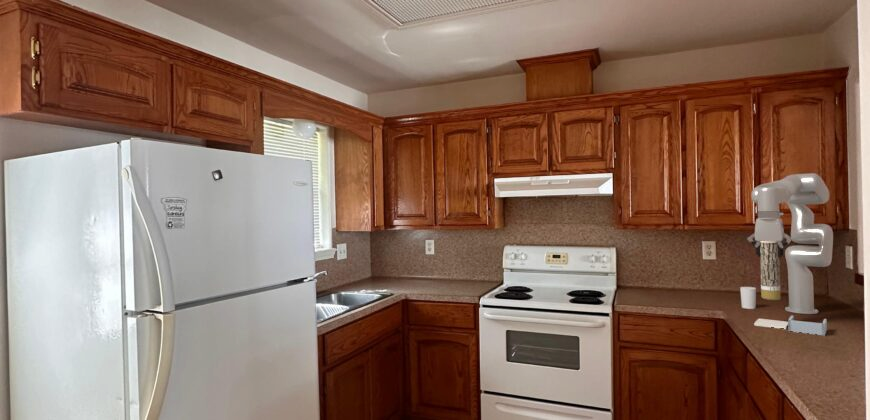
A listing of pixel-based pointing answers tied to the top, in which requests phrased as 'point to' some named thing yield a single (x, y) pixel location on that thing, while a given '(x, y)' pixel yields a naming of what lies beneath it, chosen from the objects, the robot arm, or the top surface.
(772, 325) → the tile
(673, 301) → the top surface
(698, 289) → the top surface
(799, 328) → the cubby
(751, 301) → the drinking glass
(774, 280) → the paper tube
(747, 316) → the top surface
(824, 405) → the top surface
